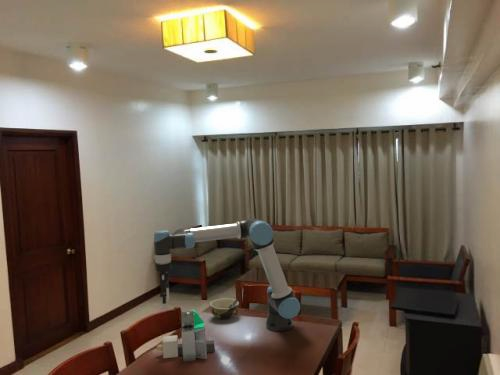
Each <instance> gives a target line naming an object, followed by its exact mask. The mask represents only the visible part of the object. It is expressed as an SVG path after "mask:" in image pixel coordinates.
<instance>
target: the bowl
mask: <svg viewBox="0 0 500 375" xmlns="http://www.w3.org/2000/svg"><path fill="white" fill-rule="evenodd" d="M239 304H240V302H239V300H238V299H237V298H236V299H235V298H232V297H231V298H230V297H223V298H218V299H214V300H212V301H210V303H209V305H210V307H211V310H210V311H211V312H210V313H211V314H212V316H214V317H216V318H218V319H219V320H228V319H230V318H233V317H235V316H237V315H238V314H239V312H240V310H239ZM234 311H235V312H234Z"/></svg>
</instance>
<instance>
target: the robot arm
mask: <svg viewBox="0 0 500 375" xmlns="http://www.w3.org/2000/svg"><path fill="white" fill-rule="evenodd" d="M235 238H237V239H239V240H241V239H247V240H250V243H251V247H252V249H253V250H254V251H256V252H257V254H258V256H259V259H260V262H261V265H262V267H263V269H264V272H265V274H266V278H267V281H268V283H269V286H268V287H267V291H266V294H267V306H268V307H267V317H266V321H265V327H266V329H267V330H269V331H271V332H285V331H286V332H287V331H289V330H291V329H292V328H293V326H294V323H293V318H295V317H296V316H297V315H298V314H299V313H300V310H301V303H300V302H299V300H298V298H296V296H295V292H294V290H293V288H292V287H290V286H289V285H288V282H287V280H286V277H285V273H284V272H283V269H282V266H281V263H280V261H279V259H278V256H277V253H276V250H275V247H274V244H275V239H274V230H273V228H272V226H271V225H270V224H269V223H268V222H266V221H264V220H261V219H259V218H248V219H243V220H237V221H236V222H234V223H227V224H219V225H210V226H200V227H193V228H183V229H182V228H177V229H175V230H174V231H173V233H172V234H171V233H170V231H169V230H168V229H167V230H163V229H162V230H156V231H154V234H153V245H154V256H153V259H154V260H155V271H156V272H157V273H160V274H159V282H160V283H159V284H160V295H159V298H160V299H161V300H160V302H161V311H167V310H169V307H168V306H169V305H168V302H169V301H170V287H171V285H170V283H169V271H171V270H172V253H171V250H173V251H174V250H181V249H182V250H183V249H187V250H188V249H192V248H194V247H195V246H196V245H195V244H196V243H199V242H209V241H217V240H225V239H235Z"/></svg>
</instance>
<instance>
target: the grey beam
mask: <svg viewBox="0 0 500 375" xmlns="http://www.w3.org/2000/svg"><path fill="white" fill-rule="evenodd" d="M161 342H162V344H157V345H156V350H157V352H158V351H162V356H163V357H162V358H163V359H168V358H170V359H171V358H177V357H179V356H183V347H182V343H179V336H178V335H177V334H176V335H175V334H174V335H166V336H165V335H164V336H162V341H161ZM204 342H206V350H207V353H212V352H215V351H216V349H215V348H216V347H215V339H213V340H206V341H204Z"/></svg>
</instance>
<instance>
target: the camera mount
mask: <svg viewBox="0 0 500 375" xmlns="http://www.w3.org/2000/svg"><path fill="white" fill-rule="evenodd" d="M190 311H193V313H194V326H195V331H196V330H199V329H202V328H205V321H204V320H203V319H202V318H201V316H200V315H199V313H198V312H197V311H196V310H195V309H191V310H190Z"/></svg>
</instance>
